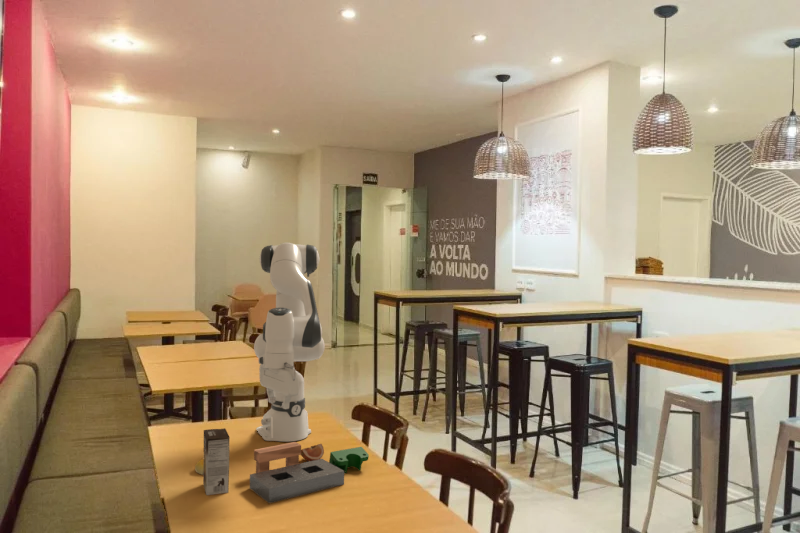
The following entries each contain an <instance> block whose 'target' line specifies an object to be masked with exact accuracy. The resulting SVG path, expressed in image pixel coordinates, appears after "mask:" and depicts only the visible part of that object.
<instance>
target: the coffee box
mask: <svg viewBox="0 0 800 533" xmlns="http://www.w3.org/2000/svg"><path fill="white" fill-rule="evenodd" d="M203 459H204V464H203V475H202V476H203V483H202V484H203V488H204V492H205V495H206V496H211V495H218V494H219V495H221V494H227V493H229V491H230V490H229V489H230V488H229V487H230V486H229V482H230V478H229V477H230V434H229V432H228V431H227V429H226V428H212V429H211V428H210V429H203Z"/></svg>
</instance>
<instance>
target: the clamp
mask: <svg viewBox="0 0 800 533" xmlns="http://www.w3.org/2000/svg"><path fill="white" fill-rule="evenodd" d="M329 453H330V454H329V461H328V462H329V463H331V464H333V465H334V466H336V467H338V468H340V469H342V470H343V471H344V474H347V471H348V469H349V468H355V469H356V470H357V471H361V470H362V464H363V462H367V461H368V460H369V456H370V455H369V452H367V451H366V450H365V449H364V448H363V446H358V447H353V448H347V449H339V450H334V451H330V452H329Z"/></svg>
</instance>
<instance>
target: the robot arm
mask: <svg viewBox="0 0 800 533" xmlns="http://www.w3.org/2000/svg"><path fill="white" fill-rule="evenodd" d="M320 261H321V258H320V254H319V251H318V248H317V247H316V246H315V245H311V244H299V243H298V244H296V243H293V242H282V243H280V244H276V245H273V244H271V245H270V244H269V245H265V246H264V247H263V248H262V249H261V252H260V254H259V264H260V267H261V270H262V271H264V272H265V273H267V274H269V279H270V283H271V285H272V287H273V288H274V289H275V291H276V292H275V293H276V295H275V308H270V309H269V310H268V311H267V315H266V321H265V322H264V323H263V324H262V333H261V334H259V335H258V336H257V337H256V339H255V341H254V344H253V350H254V351H253V352H254V353H255V354H254V355H255V356H256V357H257V358H258V364H259V372H258V374H259V383H260V385H261V387H264V388H266V394H267V397H268V398H267V399H268V400H267V401H268V403H269V404H271V406H270V409H268V410H267V412H266V413H264V414H263V417H262V418H261V421H260V422H261V423H260V424H261V425H260V426H258V427H256V428H255V431H256V430H257V431H258V432H257V431H256V432H257V434H259V435H260V436H262V437H261V438H262V439H263V441H268V442H269V441H270V442H272V441H273V442H274V441H275V442H286V443H289V442H296V441H301V440H304V439H307V437H308V436H309V435H310V434H311V433H312V429H311V428H309V417H308V416H309V414H308V411H307V410H306V409H305V408H306V398H305V378H304V377H303V375H302V374H301V373H300V372H299V371H297V370H296V369H295V364H294V363H295V362H309V361H310V362H311V361H316V360H320V359H321V357H322V356H323V355H324V352H325V348H326V346H325V340H324V338H323V328H322V324H321V321H320V318H319V317H320V316H319V313H318V308H317V304H316V303H317V302H316V298H315V293H314V288H313V285H312V282H311V281H310V279H307V278H310V275H311V274H313V273H315V272H316V270H317V269H318V267H319V264H320ZM305 275H306V276H307V278H306V277H305Z"/></svg>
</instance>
